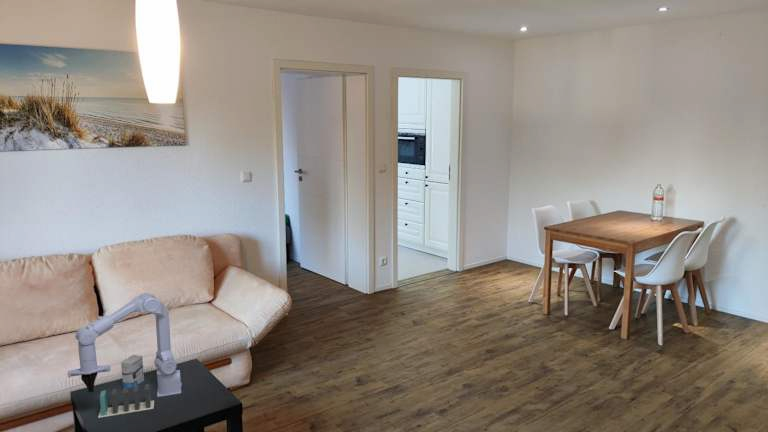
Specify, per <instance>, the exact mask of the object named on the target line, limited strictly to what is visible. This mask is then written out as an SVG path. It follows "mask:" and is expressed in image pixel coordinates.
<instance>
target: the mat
mask: <svg viewBox="0 0 768 432" xmlns="http://www.w3.org/2000/svg"><path fill="white" fill-rule="evenodd" d="M129 404H130V403H129ZM154 406H155V400H151V407H150V408H146V401H143V402H141V401H140V410H135V403H131V404H130V407H129V411H128V412H124V404H123V405H119V409H118V413H116V414H113V408H112V407H111V406H110V407H108V410H107V414H106V415H104V416H102V414H101V408H100V409H99V413H98V417H97V418H98V419H100V418H104V417H105V418H106V417H111V416H118V415H125V414H129V413H134V412H135V413H136V412H141V411H146V410H147V411H148V410H153V409H154Z"/></svg>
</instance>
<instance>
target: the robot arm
mask: <svg viewBox="0 0 768 432" xmlns="http://www.w3.org/2000/svg"><path fill="white" fill-rule="evenodd" d="M143 310H144V311H145V312H146V313H148V314H153V315H154V317H155V328H156V343H157V344H156V347H157V351H156V353H155V354H156V355H155V358H154V361H153V362H154V363H153V364H154V366H155V367H156V368H157V370H156V379H157V392H156V395H157V396H156V397H157V398H161V397H166V396H172V395H179V394H182V387H183V383H182V380H181V378H182V377H181V370H180V369H177V362H176V361H175V358H174V354H173V352H172V347H171V346H172V345H171V332H170V331H171V329H170V328H171V326H170V315H169V309H168V307H167V306H166V305H165V304H164V303H163V301H162V300H161V299H158V297H156V296H154V295H153V294H151V293H149V292H143V293H141V294H140V295H138V296H135V297H134V298H133V299H131V301H129V302H128V303H126V304H125V305H124V306H122V307H120V308H118V309H117V310H116V311H114V312H113V313H112V314H110V315H103V316H102V315H100V316H98V317H97V320H95V321H93V322H91V323H90V324H87V325H86V326H84V327H80V328H79V329H78V330H77V331H76V334H75V336H74V337H75V339H76V340H77V341H78V342H77V343H78V349H77V350H78V359H79V368H75V369H71V370H68V371H67V378H72V377H77V376H80V379H81V381H82V382H83V384H84V385H85V386H86V389H87V391H88V393H94V390H95V389H94V388H95V383H96V379H97V376H98V373H106V372H107V373H109V372H111V365H110V364H108V365H98V361H97V353H96V352H97V351H96V350H97V349H96V345H95V344H96V343H95V342H96V340H97V338H99V337H101V336H102V335H103V334H104V333H107V332H108V331H109V330H111V329H113V328H114V326H115V323H117V322H118V321H120V320H122V319H124V318H126V317H127V316H128V317H129V316H130V315H131V314H133V313H144V311H143Z"/></svg>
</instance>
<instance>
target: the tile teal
mask: <svg viewBox="0 0 768 432" xmlns="http://www.w3.org/2000/svg"><path fill="white" fill-rule="evenodd" d="M99 403H100V409H101V414H102V416H104V415H106V414H107V410H108V408H109V407H108V398H107V390H101V391H100V395H99Z"/></svg>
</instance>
